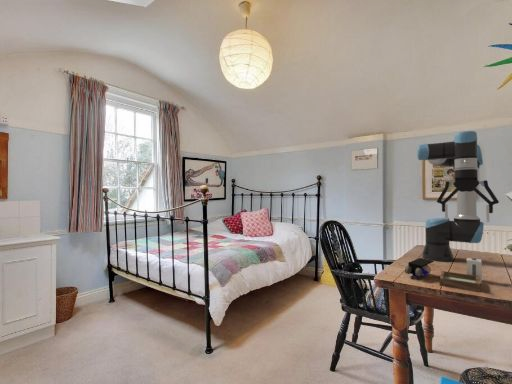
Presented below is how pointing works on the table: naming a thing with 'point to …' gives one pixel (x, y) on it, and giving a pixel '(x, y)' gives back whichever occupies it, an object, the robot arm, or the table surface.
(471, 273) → the strip block
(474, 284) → the brown wooden square tray
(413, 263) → the figurine character
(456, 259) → the table surface
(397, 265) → the table surface
